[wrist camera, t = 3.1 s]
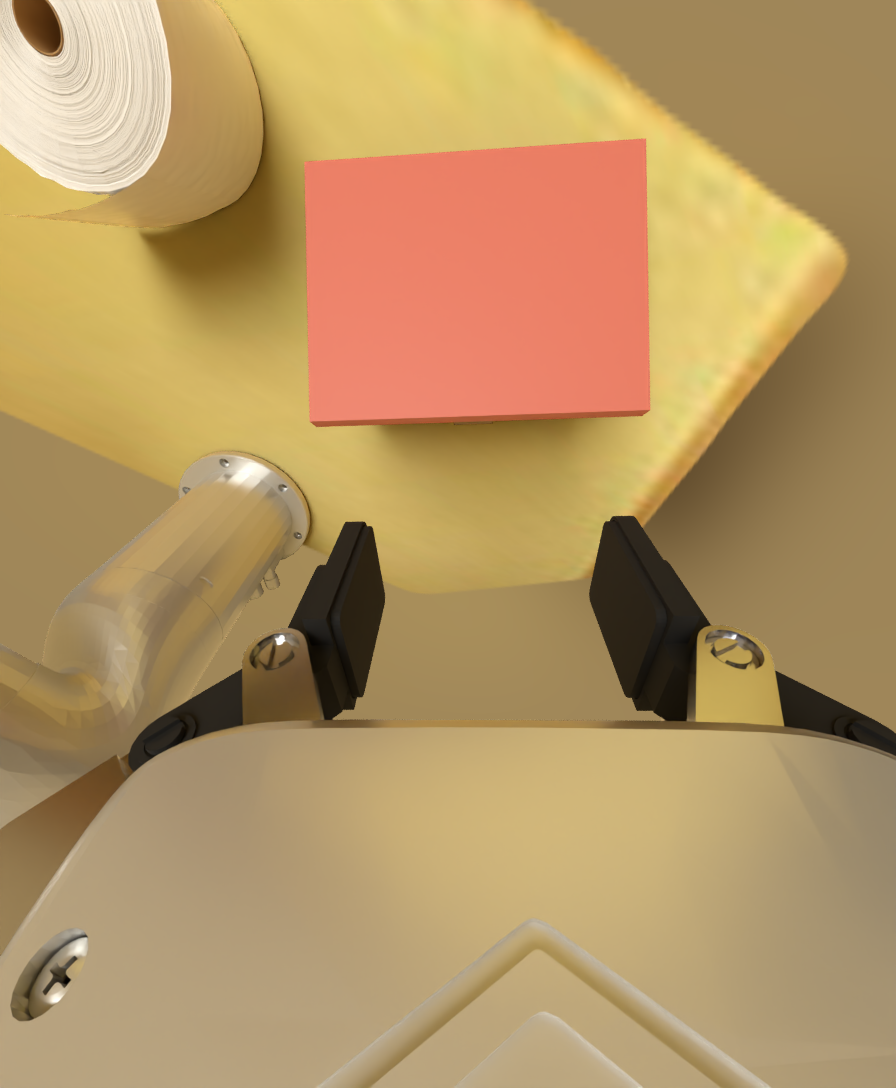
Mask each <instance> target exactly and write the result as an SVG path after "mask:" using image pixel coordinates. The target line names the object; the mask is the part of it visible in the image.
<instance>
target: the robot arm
mask: <svg viewBox="0 0 896 1088" xmlns="http://www.w3.org/2000/svg"><path fill="white" fill-rule="evenodd" d="M309 527H310V513H309V509H308V505H307V502H306V500H305V498H304V496H303V494H302V492H301V491H300V490H299V488H298V487H297V486H296V484H295V483H294V482H293V481H292V480H291V479H290V478H289V477H288V476H287V475H286V474H285V473H284V472H282V471H281V470H280V469H278V468H277V467H276V466H274V465H273V464H271V463H269V462H267V461H265V460H263V459H261V458H259V457H256V456H253V455H250V454H246V453H241V452H236V451H221V452H216V453H211V454H208V455H206V456H204V457H201V458H200V459H199V460H197V461H196V462H194V463H193V464H192V465H191V466H190V467H189V468H188V469H187V470H186V471H185V472H184V474H183V476H182V478H181V481H180V485H179V500H178V501H177V502H176V503H175V504H174V505H173V506H171V507H170V508H169V509H168V510H167V511H165V512H164V513H163V514H162V515H161V516H160V517H158V518H157V519H156V520H155V521H154V522H153V523H151V524H150V525H149V526H148V527H147V528H145V529H144V530H143V531H142V532H141V533H140V534H138V535H137V536H136V537H135V538H134V539H133V540H131V541H130V542H129V543H128V544H127V545H126V546H124V547H123V548H122V549H121V550H120V551H119V552H117V553H116V554H115V555H114V556H113V557H111V558H110V559H109V560H108V561H107V562H106V563H104V564H103V565H102V566H101V567H100V568H98V569H97V570H96V571H95V572H94V573H93V574H91V575H90V576H88V577H87V578H86V579H85V580H84V581H82V582H81V583H80V584H79V585H78V586H77V587H75V588H74V589H73V590H72V591H71V592H70V593H69V594H68V596H67V597H66V598H65V599H64V600H63V602H62V603H61V605H60V606H59V608H58V609H57V611H56V613H55V615H54V617H53V619H52V621H51V623H50V626H49V630H48V633H47V637H46V641H45V647H44V653H43V662H42V665H41V664H39V663H34V662H32V661H31V660H29V659H27V658H25V657H23V656H22V655H20V654H18V653H16V652H14V651H12V650H11V649H9V648H7V647H5V646H4V645H2V644H0V1088H896V733H894V732H893V731H892V730H890V729H889V728H887V727H886V726H884V725H882V724H881V723H879V722H877V721H875V720H873V719H871V718H869V717H867V716H865V715H863V714H861V713H859V712H857V711H855V710H853V709H851V708H849V707H847V706H845V705H843V704H841V703H839V702H837V701H835V700H833V699H831V698H829V697H827V696H825V695H823V694H821V693H819V692H817V691H815V690H813V689H811V688H809V687H807V686H805V685H803V684H801V683H799V682H797V681H795V680H793V679H791V678H789V677H787V676H785V675H783V674H781V673H779V672H777V671H775V669H774V662H773V658H772V656H771V653H770V652H769V650H768V649H767V648H766V646H765V645H764V644H763V643H762V642H760V641H759V640H758V639H757V638H755V637H754V636H752V635H751V634H748V633H747V632H745V631H743V630H740V629H737V628H735V627H730V626H726V625H710V623H709V622H708V620H707V618H706V617H705V616H704V614H703V613H702V611H701V610H700V608H699V607H698V605H697V604H696V602H695V601H694V599H693V598H692V596H691V595H690V593H689V592H688V590H687V589H686V588H685V586H684V585H683V583H682V582H681V580H680V578H679V577H678V576H677V574H676V573H675V571H674V570H673V568H672V567H671V565H670V564H669V563H668V562H667V561H666V560H663V559H662V557H661V556H660V554H659V553H658V551H657V550H656V548H655V546H654V545H653V544H652V542H651V540H650V539H649V538H648V536H647V535H646V533H645V532H644V530H643V528H642V527H641V525H640V524H639V522H638V521H637V519H636V518H635V517H634V516H613V517H612V518H611V520H610V521H606V522H605V523H604V526H603V530H602V535H601V539H600V544H599V549H598V553H597V558H596V563H595V568H594V572H593V577H592V582H591V586H590V593H589V596H590V602H591V605H592V608H593V610H594V613H595V616H596V618H597V621H598V624H599V627H600V629H601V632H602V635H603V637H604V640H605V643H606V646H607V648H608V651H609V654H610V657H611V659H612V662H613V665H614V667H615V670H616V673H617V675H618V678H619V681H620V684H621V686H622V689H623V692H624V694H625V696H626V697H628V698H632V700H633V702H634V705H635V707H636V710H637V711H653V712H654V713H655V714H657V715H658V716H660V717H661V718H660V721H610V720H608V721H607V720H335V718H334V717H335V716H337V715H338V714H339V713H341V712H342V710H354V707H355V703H356V699H357V697H363V695H364V691H365V687H366V682H367V678H368V674H369V670H370V665H371V661H372V657H373V652H374V648H375V643H376V638H377V635H378V630H379V626H380V622H381V617H382V613H383V608H384V603H385V592H384V587H383V581H382V576H381V570H380V565H379V559H378V554H377V548H376V543H375V537H374V532H373V528H372V526H367V525H366V523H365V522H345V524H344V526H343V528H342V530H341V533H340V535H339V537H338V539H337V541H336V544H335V546H334V548H333V550H332V553H331V555H330V557H329V559H328V562H327V564H326V565H319V566H318V567H317V568H316V570H315V572H314V574H313V576H312V578H311V580H310V582H309V585H308V586H307V589H306V591H305V593H304V595H303V597H302V599H301V601H300V603H299V606H298V608H297V610H296V612H295V614H294V616H293V618H292V620H291V622H290V624H289V626H288V628H280V629H275V630H272V631H269V632H267V633H265V634H263V635H261V636H260V637H258V638H257V639H255V640H254V641H253V642H252V643H251V644H250V645H249V646H248V647H247V649H246V651H245V652H244V654H243V659H242V669H241V670H239V671H238V672H236V673H234V674H232V675H231V676H229V677H227V678H226V679H224V680H222V681H220V682H219V683H217V684H215V685H214V686H212V687H210V688H209V689H207V690H205V691H203V692H202V693H200V694H199V695H197V696H195V697H193V698H192V699H190V700H188V699H189V697H190V695H191V693H192V692H193V690H194V688H195V686H196V685H197V683H198V681H199V680H200V678H201V676H202V674H203V673H204V671H205V670H206V668H207V666H208V665H209V663H210V661H211V660H212V658H213V656H214V655H215V653H216V652H217V650H218V649H219V647H220V646H221V644H222V643H223V641H224V639H225V638H226V636H227V635H228V633H229V632H230V630H231V628H232V627H233V625H234V623H235V622H236V620H237V619H238V617H239V616H240V614H241V612H242V611H243V609H244V607H245V606H246V604H247V603H248V601H249V600H253V599H257V598H259V597H260V596H261V595H262V594H263V592H264V591H263V589H262V586H261V584H260V582H261V580H262V579H264V581H265V584H266V587H267V588H268V589H270V590H272V589H276V588H277V587H279V586H280V582H279V579H278V577H277V574H276V573H275V571H274V570H275V568H276V566H277V565H278V563H279V561H280V560H282V559H285V558H287V557H289V556H290V555H292V554H294V553H295V552H296V551H297V550H298V549H299V548H300V547H301V545H302V544H303V542H304V541H305V539H306V537H307V534H308V532H309Z"/></svg>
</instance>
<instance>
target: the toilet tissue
mask: <svg viewBox="0 0 896 1088" xmlns="http://www.w3.org/2000/svg"><path fill="white" fill-rule="evenodd" d="M0 144H1V145H2V146H4V147H5V148H6V149H7V150H8V151H9V152H11V153H12V154H13V155H14V156H15V157H16V158H18V159H19V160H21V161H22V162H24V163H25V164H27V165H28V166H30V167H31V168H32V169H33V170H34V171H36V172H37V173H38V174H39V175H40V176H42V177H45V178H48V179H50V180H53V181H56V182H58V183H59V184H61V185H63V186H64V187H67V188H71V189H75V190H79V191H84V192H89V193H93V194H98V195H101V194H105V195H109V196H111V197H109V198H107V199H105V200H103V201H100V202H98V203H96V204H93V205H90V206H88V207H85V208H82V209H79V210H68V211H65V212H62V213H56V214H51V215H45V216H29V215H28V216H17V217H33V218H41V219H53V220H63V221H75V222H81V223H92V224H104V225H113V226H125V227H138V228H146V227H149V228H162V227H166V226H171V225H176V224H182V223H188V222H191V221H194V220H197V219H200V218H203V217H206V216H208V215H210V214H212V213H214V212H216V211H218V210H219V209H221V208H224V207H227V206H228V205H230V204H232V203H233V202H235V201H236V200H238V199H239V198H240V197H241V196H242V195H243V193H244V192H245V191H246V190H247V189H248V188H249V186H250V184H251V182H252V180H253V178H254V176H255V175H256V172H257V168H258V165H259V162H260V158H261V153H262V144H263V112H262V106H261V101H260V95H259V90H258V85H257V82H256V79H255V76H254V72H253V69H252V66H251V63H250V60H249V58H248V56H247V54H246V51H245V49H244V47H243V45H242V43H241V40H240V38H239V36H238V34H237V32H236V31H235V29H234V28H233V26H232V25H231V23H230V21H229V20H228V18H227V17H226V15H225V13H224V12H223V11H222V9H221V8H220V7H219V6H218V5H217V3H216V2H215V1H214V0H0ZM6 215H8V214H6ZM11 216H16V215H11Z"/></svg>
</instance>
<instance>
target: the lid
mask: <svg viewBox="0 0 896 1088" xmlns="http://www.w3.org/2000/svg"><path fill="white" fill-rule="evenodd" d="M305 210H306V259H307V308H308V358H309V407H310V422H311V423H312V424H314V425H315V426H316V427H327V426H357V425H387V424H417V423H446V422H476V421H506V420H536V419H566V418H596V417H625V416H642V415H644V414H645V413H647V412H648V411H649V410H650V371H649V306H648V242H647V177H646V139H633V140H618V141H604V142H589V143H574V144H560V145H545V146H530V147H515V148H501V149H486V150H471V151H456V152H442V153H427V154H412V155H398V156H383V157H368V158H353V159H339V160H324V161H309V162H305Z"/></svg>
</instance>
